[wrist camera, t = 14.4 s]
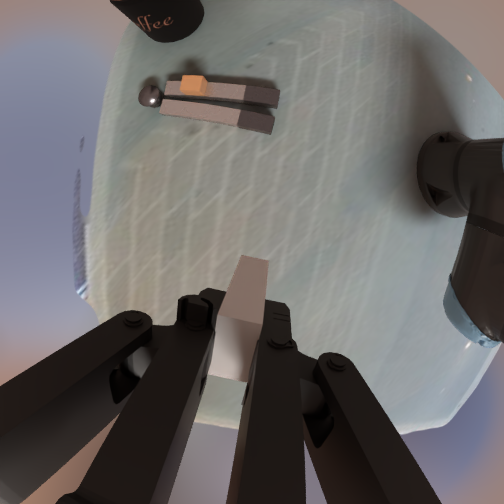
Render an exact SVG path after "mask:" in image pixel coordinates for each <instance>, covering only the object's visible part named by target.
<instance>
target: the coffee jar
mask: <svg viewBox="0 0 504 504" xmlns="http://www.w3.org/2000/svg"><path fill="white" fill-rule="evenodd" d="M110 2H111V3H112V4H113V5H114V6H115V7H117V8H118V9H119V10H120V11H121V12H122V13H124V14H125V15H126V16H127V17H128V18H129V19H130V20H131V21H133V22H134V23H135V24H136V25H137V26H138V27H139V28H140V29H141V30H143V31H144V32H145V33H146V34H147V35H148V36H149V37H150V38H152V39H153V40H155V41H158V42H163V43H165V42H175V41H178V40H181V39H184V38H185V37H187V36H189V35H191V34H192V33H193V32H194V31H195V30H196V29H197V28H198V27H199V25H200V24H201V22H202V20H203V16H204V9H203V6H202V4H201V2H200V0H110Z"/></svg>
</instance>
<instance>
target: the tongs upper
mask: <svg viewBox="0 0 504 504" xmlns="http://www.w3.org/2000/svg"><path fill="white" fill-rule="evenodd" d="M159 113H160V114H162V115H164V116H171V117H179V118H187V119H193V120H200V121H206V122H212V123H218V124H223V125H229V126H234V127H239V128H242V129H247V130H252V131H256V132H261V133H265V134H269V135H271V133H272V129H273V125H274V121H275V117H273V116H269V115H265V114H260V113H256V112H251V111H246V110H238V109H233V108H227V107H222V106H215V105H209V104H202V103H195V102H187V101H178V100H168V99H163V101H162V105H161V108H160V112H159Z"/></svg>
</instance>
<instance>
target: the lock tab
mask: <svg viewBox="0 0 504 504" xmlns="http://www.w3.org/2000/svg"><path fill="white" fill-rule="evenodd" d="M207 83H208V82H207V80H206V79H205V78H204V77H203V76H195V75H183V77H182V81H181V86H180V91H181V92H183V93H184V94H185V95H196V96H205V92H206V87H207Z"/></svg>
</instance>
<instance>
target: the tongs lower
mask: <svg viewBox="0 0 504 504" xmlns="http://www.w3.org/2000/svg"><path fill="white" fill-rule="evenodd" d="M180 86H181V81H167V84H166V88H165V93H164V95H166V96H167V97H169V98H186V99H203V100H215V101H226V102H235V103H243V104H249V105H256V106H263V107H269V108H275V109H277V107H278V101H279V96H280V90H277V89H271V88H264V87H257V86H250V85H237V84H226V83H214V82H208V83H207V87H206V92H205V96H196V95H185V94H184V93H183V92H181V91H180ZM138 99H139V102H140V104H141V105H143V106H150V107H153V108H156V107H158V106H160V105H161V104H162V101H163V99H164V96H163V94H162V93H161V92H160V91H159V90H158V88H157V87H155V86H153V85H149V86H146V87H144V88H143V89H142V90H141V92H140V93H139V97H138Z"/></svg>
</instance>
